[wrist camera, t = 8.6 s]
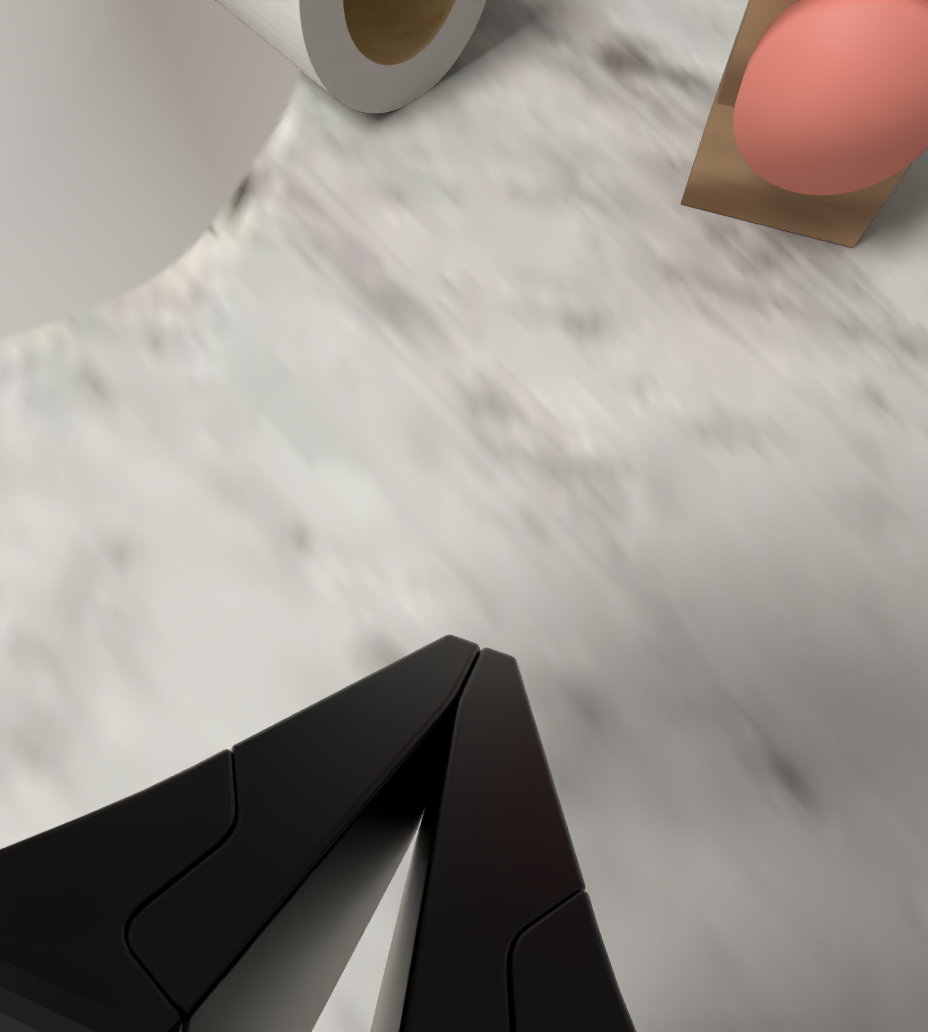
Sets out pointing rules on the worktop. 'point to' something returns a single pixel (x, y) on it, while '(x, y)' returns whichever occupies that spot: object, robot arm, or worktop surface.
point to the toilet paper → (365, 43)
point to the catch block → (746, 195)
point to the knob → (836, 95)
